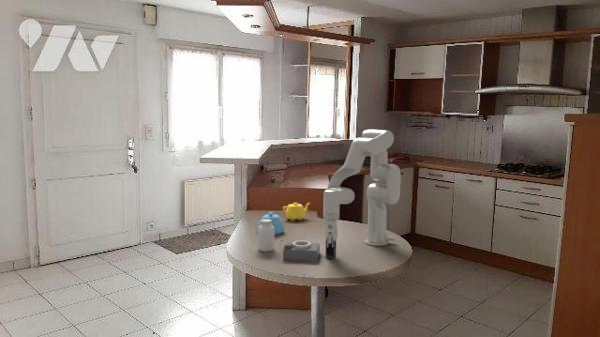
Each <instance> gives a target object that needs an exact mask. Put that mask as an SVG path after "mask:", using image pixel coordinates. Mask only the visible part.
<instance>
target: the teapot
mask: <svg viewBox="0 0 600 337" xmlns="http://www.w3.org/2000/svg"><path fill="white" fill-rule="evenodd" d="M310 204H311V202H308V203H306V204H305V207H304V206H303V205H302V204H301V203H298V202H293V203H290V204H288V205H284V206H282V210H283V212H284V213H285V216H286V218H287V219H288V220H290V221H291V222H294V221H295V220H298V221H303V219H305V218H306V214H307V212H308V207H309V205H310Z"/></svg>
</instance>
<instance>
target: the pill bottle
mask: <svg viewBox="0 0 600 337" xmlns="http://www.w3.org/2000/svg"><path fill="white" fill-rule="evenodd" d="M260 220H261V219H260ZM271 224H272V220H270V219H263V220H261V225H260V226H259V228H258V227H257V231H258V233H257V234H258V237H257V238H258V243H257V244H258V250H259V251H261V252H272V251H273V250H275V235H274V226H273V225H271Z"/></svg>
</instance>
